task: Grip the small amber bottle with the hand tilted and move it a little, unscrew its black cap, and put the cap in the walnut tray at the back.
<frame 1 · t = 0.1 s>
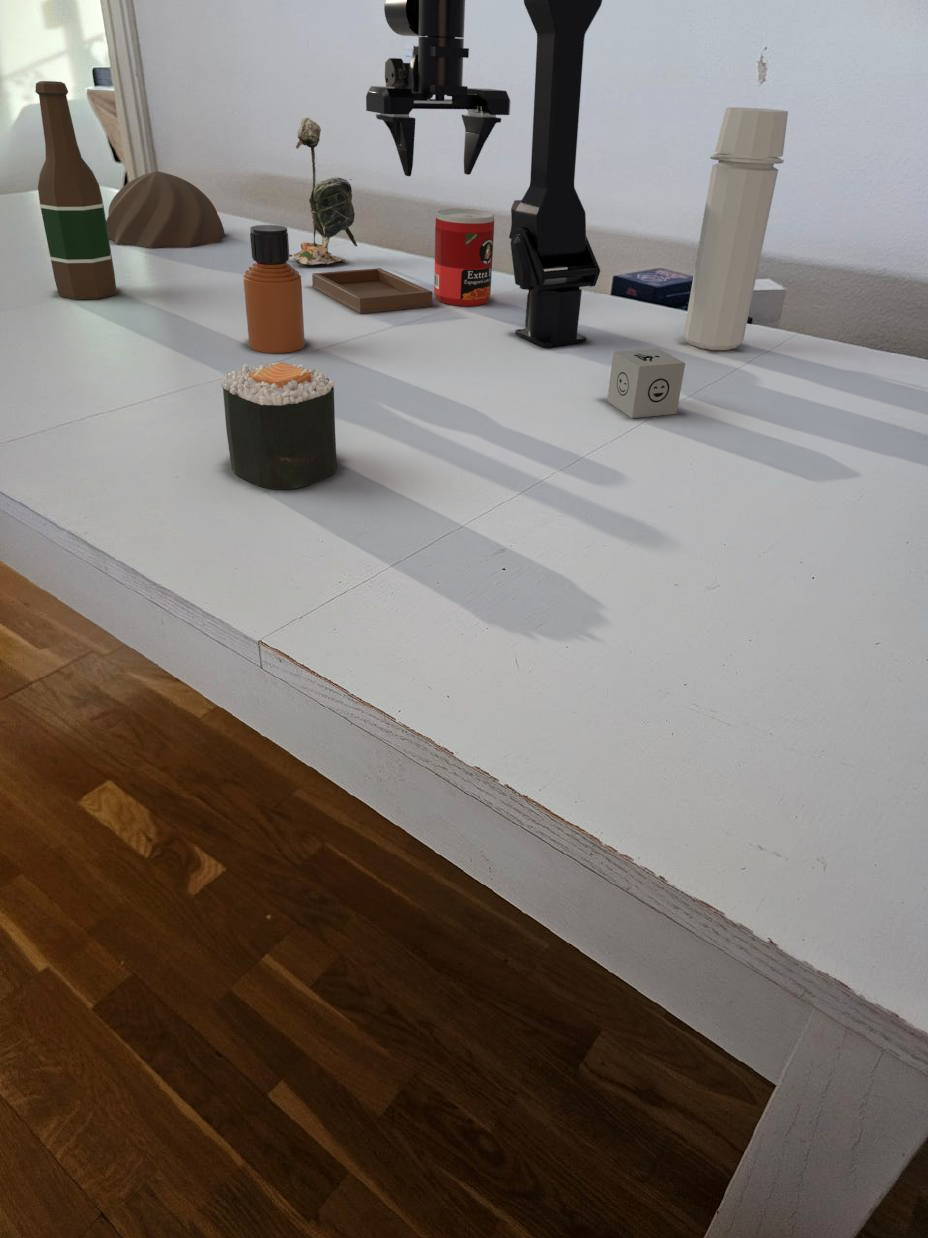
hand: (438, 174, 121), 15 cm above the table, tool pointing down, fingers open, 9 cm apart
cap: (268, 230, 96), point 12 cm above the table, screwed on, not yet turned
canned food: (462, 300, 124), on the table
tray: (370, 296, 123), on the table
bottle: (277, 345, 102), on the table
decorative dome: (165, 237, 153), on the table
dice cube: (641, 409, 89), on the table
sushi: (284, 469, 73), on the table
water bottle: (711, 343, 111), on the table
plant with pod: (324, 263, 141), on the table
beer bottle: (88, 294, 119), on the table
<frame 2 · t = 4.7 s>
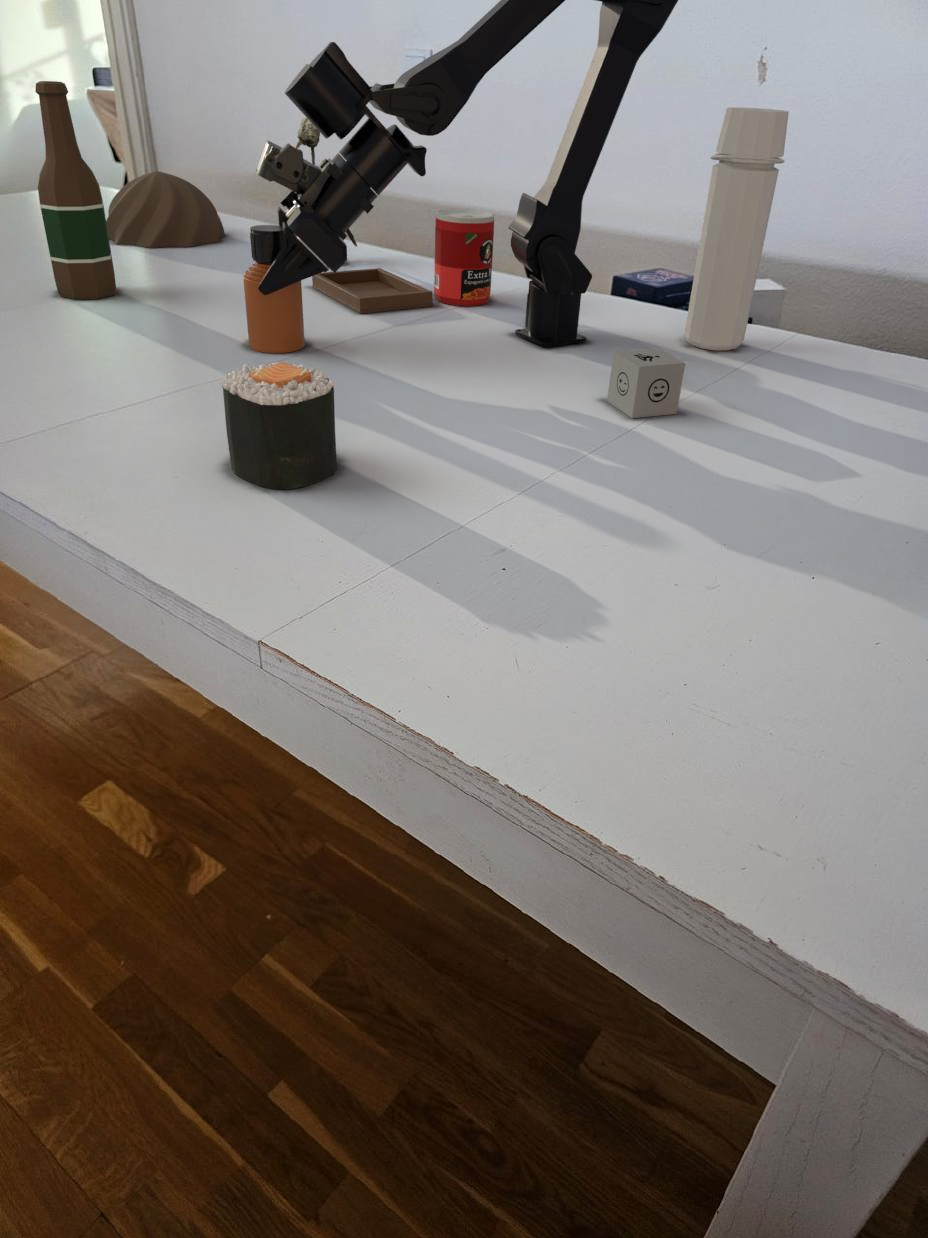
hand: (259, 284, 98), 7 cm above the table, tool tilted 45°, fingers closed on bottle, 6 cm apart
bottle: (277, 345, 102), on the table, touching gripper
everything else where it was.
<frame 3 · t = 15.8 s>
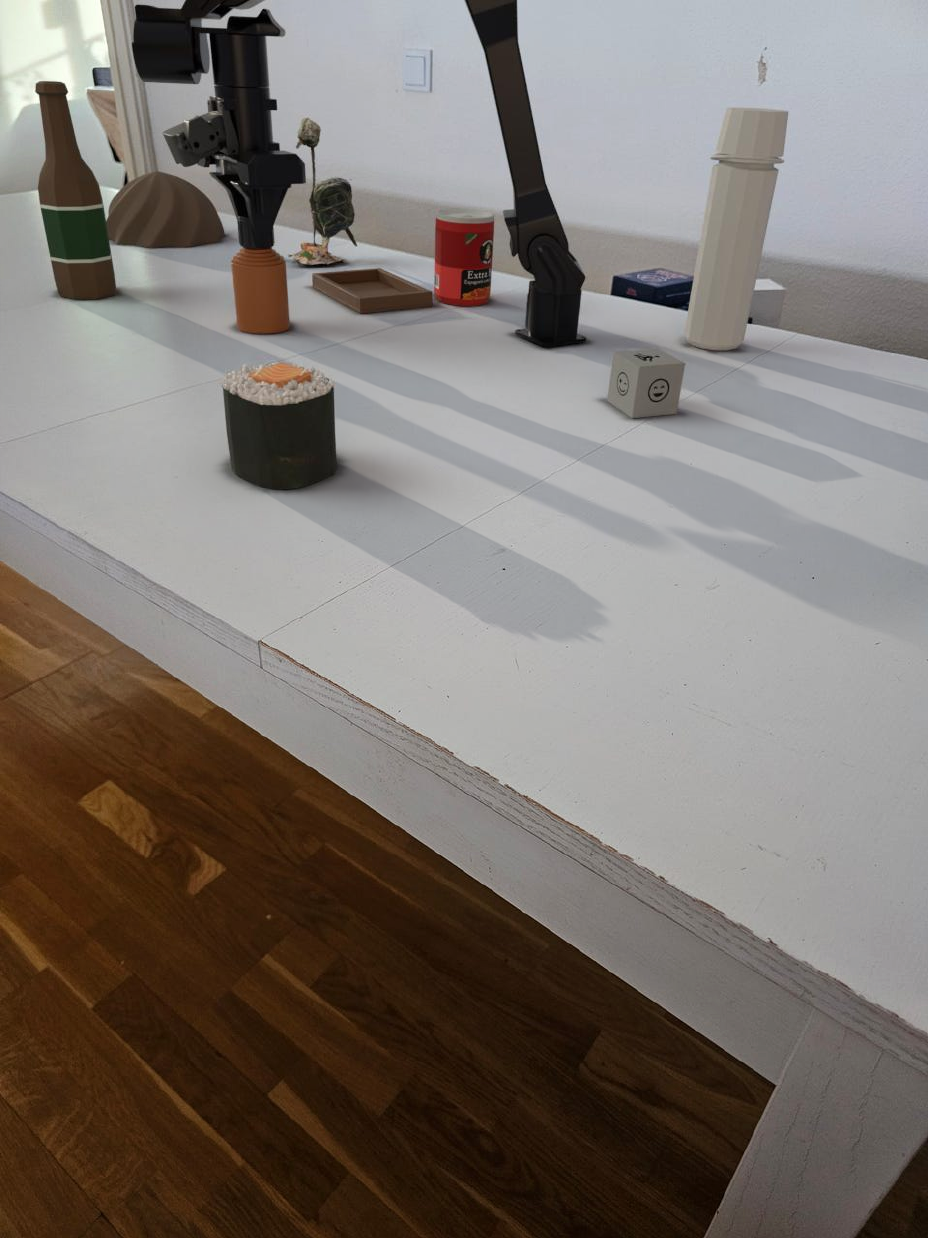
hand: (254, 244, 103), 9 cm above the table, tool pointing down, fingers closed on cap, 3 cm apart
cap: (254, 218, 102), point 12 cm above the table, screwed on, not yet turned, touching gripper
bottle: (263, 326, 108), on the table
everything else where it was.
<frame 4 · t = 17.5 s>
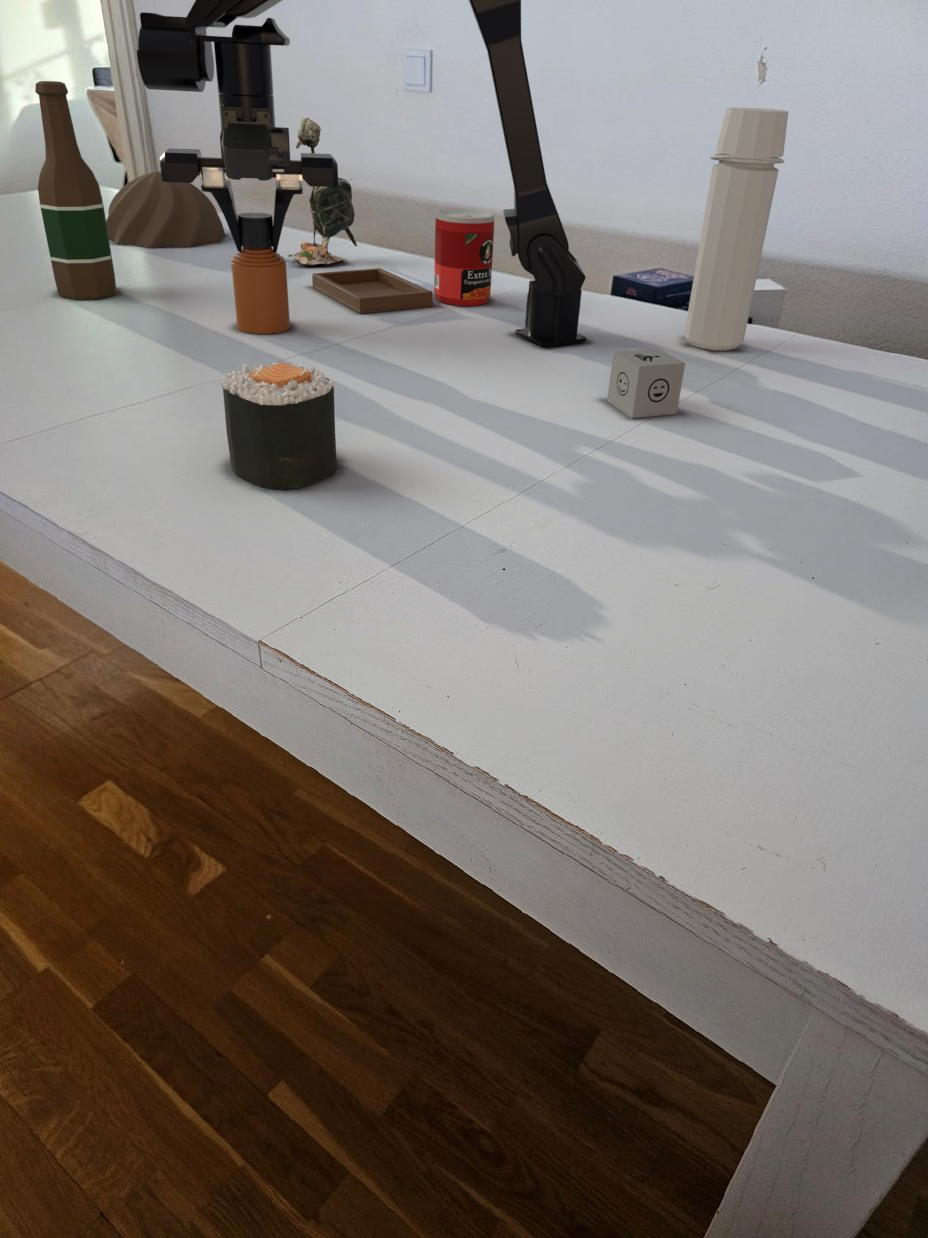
hand: (257, 251, 104), 9 cm above the table, tool pointing down, fingers closed on cap, 3 cm apart
cap: (255, 217, 102), point 12 cm above the table, turned 69° so far, risen 0.1 cm, still on its thread, touching gripper
bottle: (263, 327, 108), on the table, touching gripper
everything else where it was.
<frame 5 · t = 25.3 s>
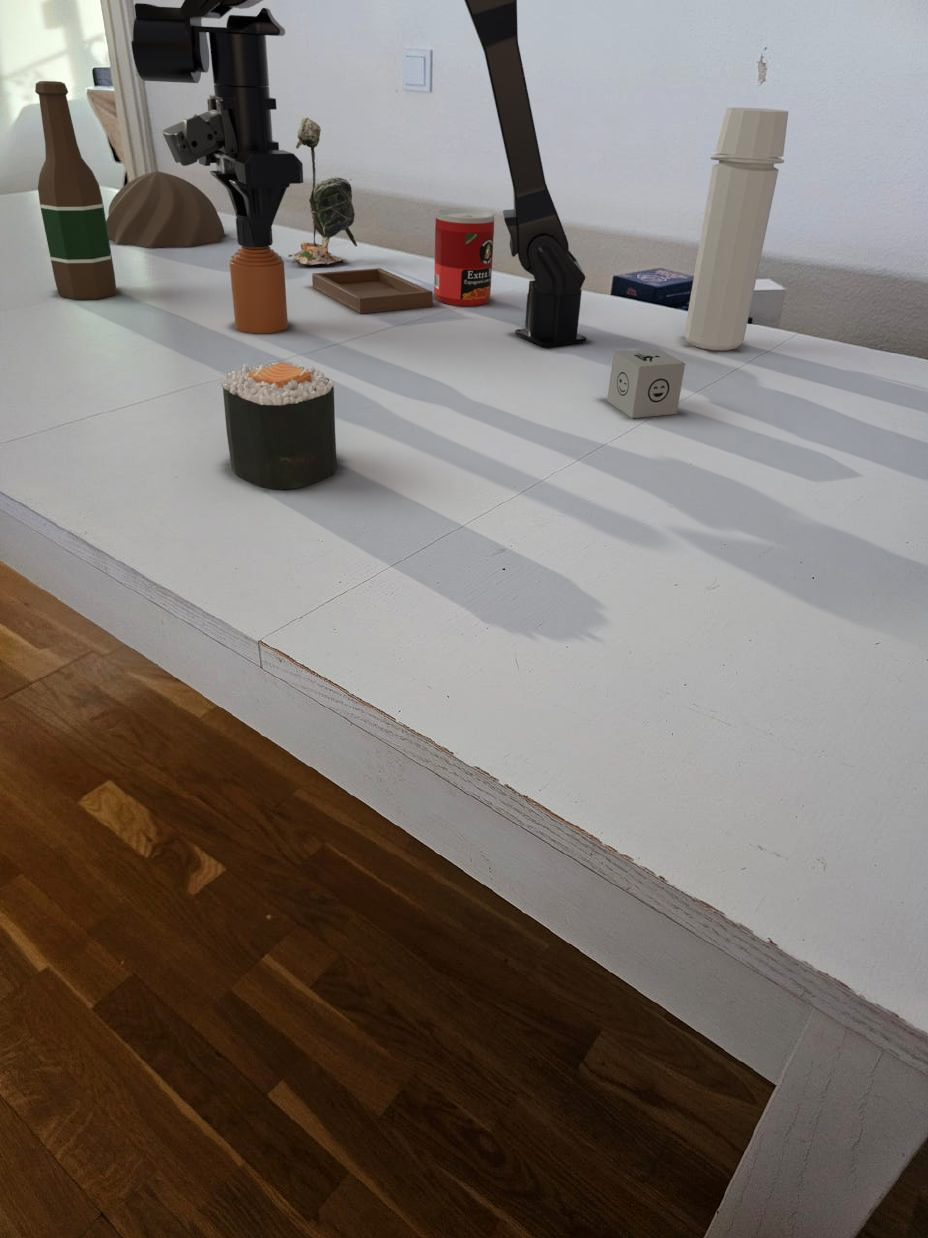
hand: (254, 243, 103), 9 cm above the table, tool pointing down, fingers closed on cap, 3 cm apart
cap: (253, 216, 102), point 12 cm above the table, turned 138° so far, risen 0.1 cm, still on its thread, touching gripper
bottle: (261, 326, 108), on the table
everything else where it was.
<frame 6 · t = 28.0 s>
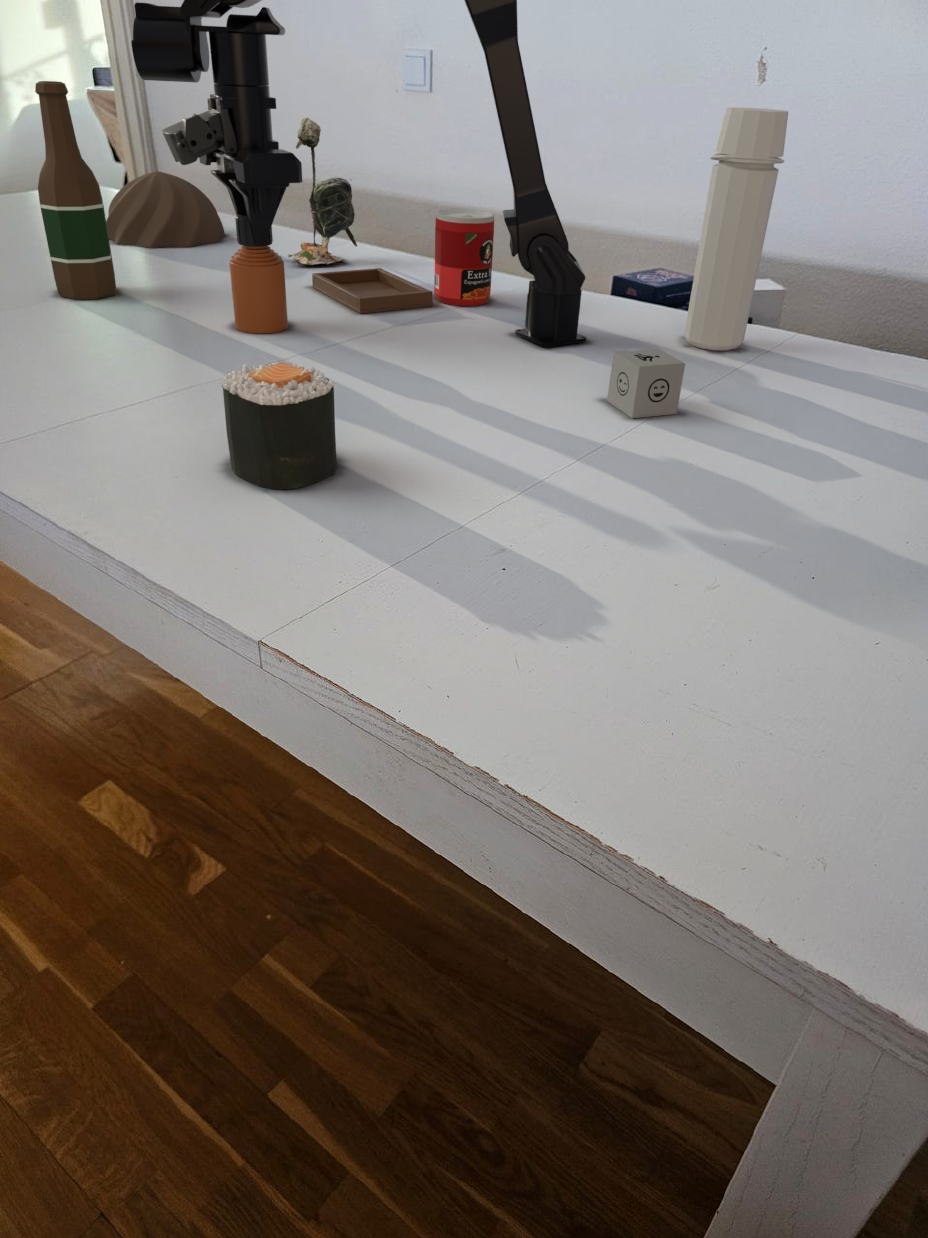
hand: (254, 242, 103), 9 cm above the table, tool pointing down, fingers closed on cap, 4 cm apart
cap: (253, 216, 102), point 12 cm above the table, turned 206° so far, risen 0.2 cm, still on its thread, touching gripper
everything else where it was.
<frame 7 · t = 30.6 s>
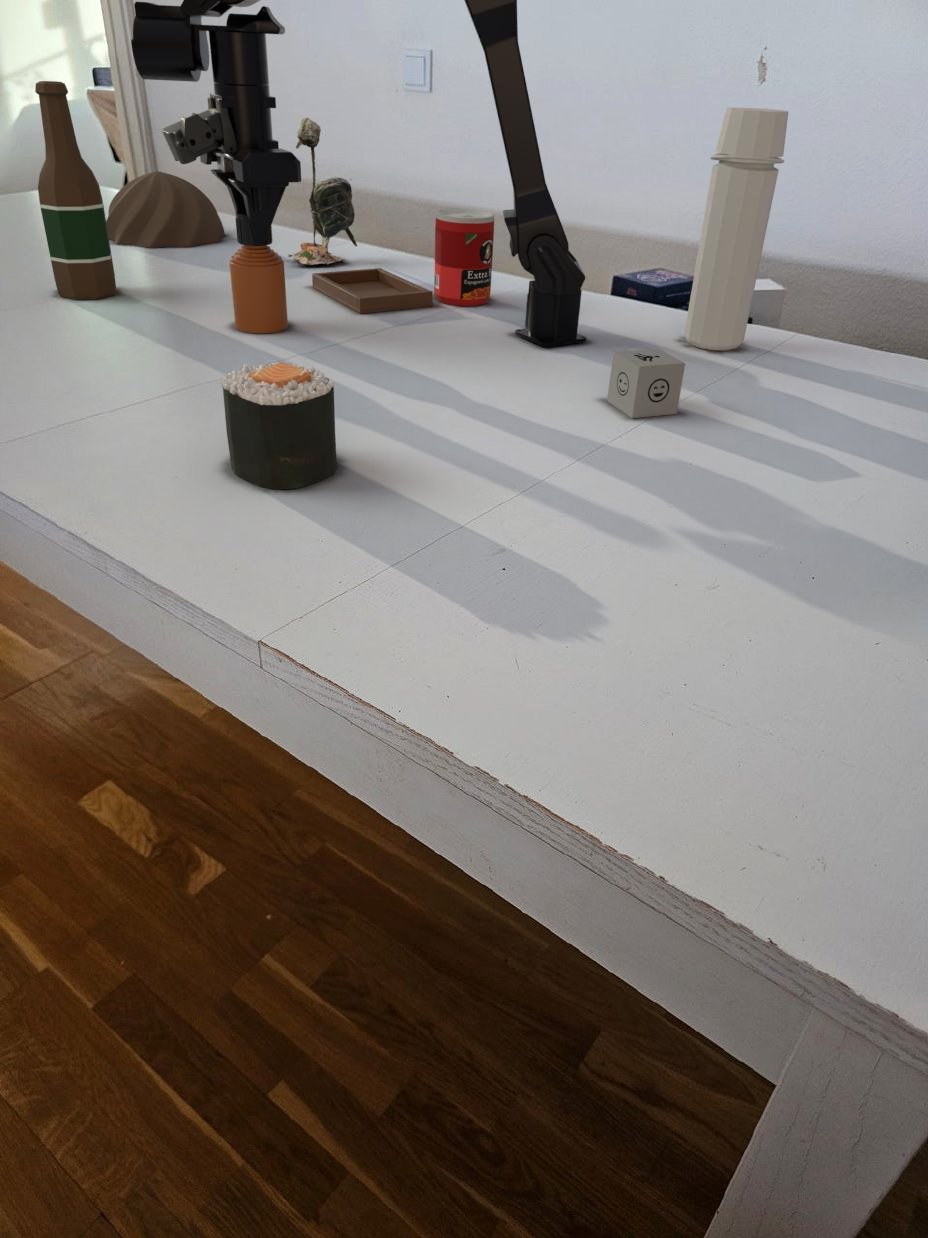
hand: (254, 241, 103), 10 cm above the table, tool pointing down, fingers closed on cap, 4 cm apart
cap: (253, 215, 102), point 12 cm above the table, turned 275° so far, risen 0.3 cm, still on its thread, touching gripper
everything else where it was.
when the fingers open (2 cm above the table, at t = 39.9 s): cap drops 2 cm, resting on tray.
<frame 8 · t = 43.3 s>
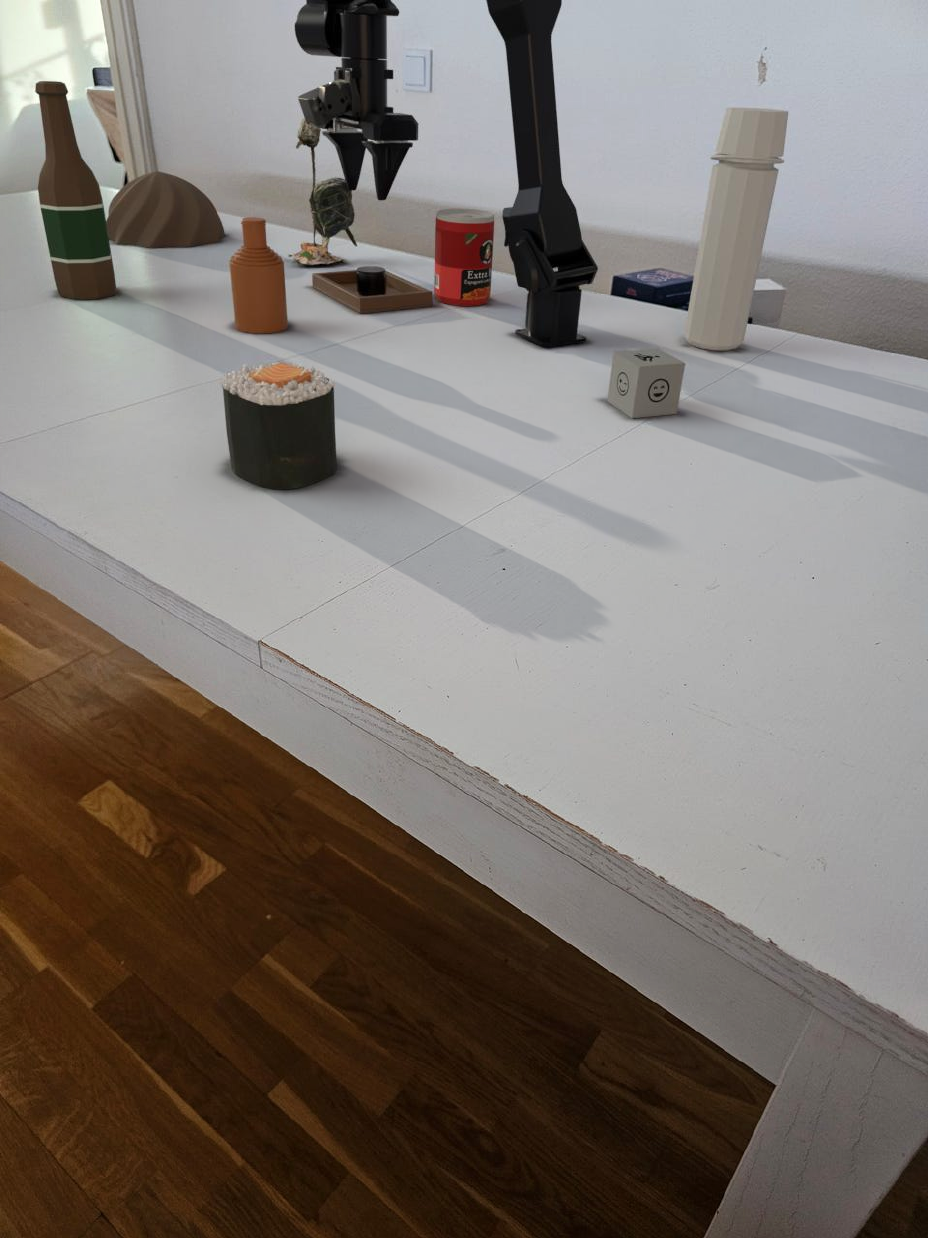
hand: (366, 194, 121), 12 cm above the table, tool pointing down, fingers open, 9 cm apart
cap: (371, 271, 122), point 3 cm above the table, off its thread, touching tray
everything else where it was.
at the end: cap inside the target area in the tray (0.1 cm from its centre), point 3.3 cm above the tray's base; the gripper is holding nothing; bottle inside the target area (0.1 cm from its centre), on the table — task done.
